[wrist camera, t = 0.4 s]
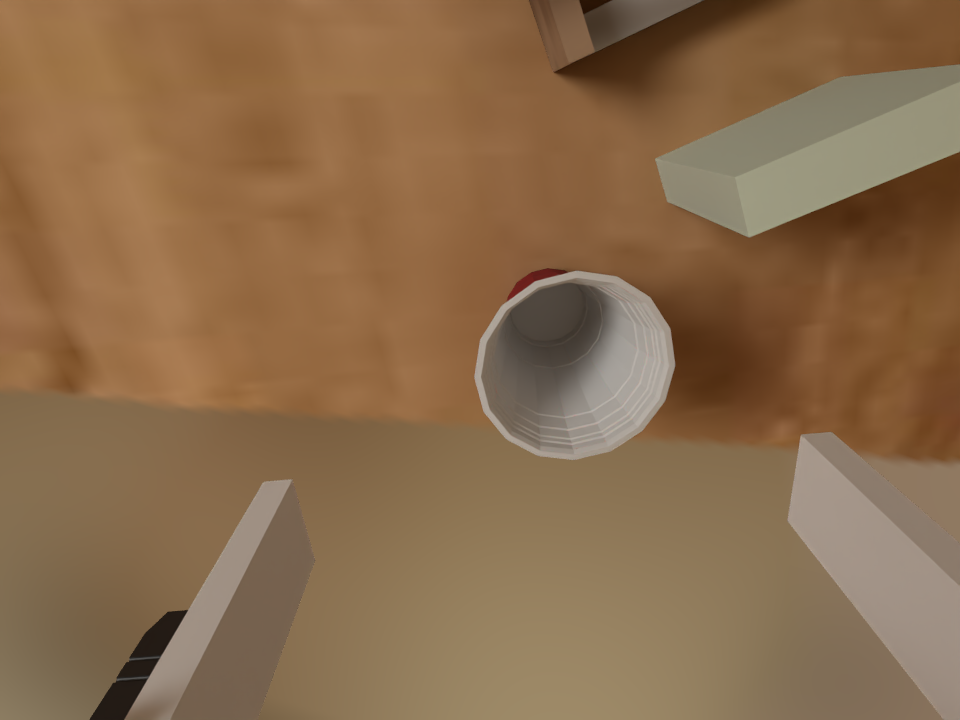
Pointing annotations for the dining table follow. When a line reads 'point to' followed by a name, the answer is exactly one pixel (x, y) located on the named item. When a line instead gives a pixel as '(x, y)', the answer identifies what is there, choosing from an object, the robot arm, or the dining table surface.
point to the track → (595, 24)
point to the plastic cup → (574, 363)
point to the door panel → (817, 148)
